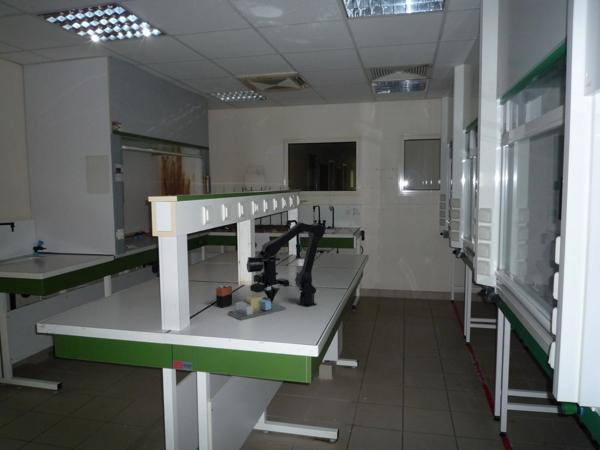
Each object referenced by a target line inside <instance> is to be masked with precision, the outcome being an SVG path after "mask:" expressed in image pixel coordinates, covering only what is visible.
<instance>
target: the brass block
mask: <svg viewBox="0 0 600 450" xmlns="http://www.w3.org/2000/svg"><path fill="white" fill-rule="evenodd" d="M262 299H263V297H262V296H261V295H258V294H257V295H252V296H246V302H245V303H247V304H250V305H252V306H253V312H255V311H259V310H262Z"/></svg>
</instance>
